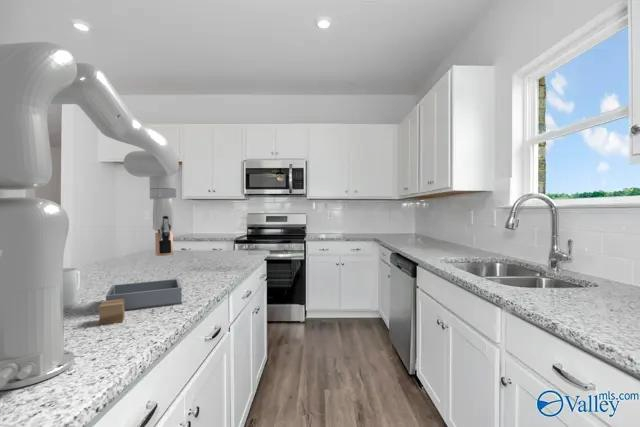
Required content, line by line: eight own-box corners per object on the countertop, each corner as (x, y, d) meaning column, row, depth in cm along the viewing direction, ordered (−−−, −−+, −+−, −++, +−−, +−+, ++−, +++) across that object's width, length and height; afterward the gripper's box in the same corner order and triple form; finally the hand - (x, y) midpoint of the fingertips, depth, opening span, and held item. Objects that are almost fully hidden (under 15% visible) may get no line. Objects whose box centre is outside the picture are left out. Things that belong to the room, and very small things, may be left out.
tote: (178, 292, 111) (178, 278, 111) (181, 303, 98) (181, 287, 98) (112, 300, 101) (112, 285, 101) (106, 313, 89) (105, 296, 88)
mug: (62, 312, 90) (61, 273, 90) (31, 312, 90) (30, 273, 90) (92, 299, 102) (91, 265, 102) (64, 300, 102) (64, 266, 102)
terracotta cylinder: (156, 256, 96) (156, 233, 96) (154, 254, 100) (154, 232, 100) (174, 254, 99) (173, 232, 98) (171, 252, 103) (171, 231, 103)
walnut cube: (122, 322, 82) (122, 303, 82) (99, 326, 79) (99, 306, 79) (124, 317, 86) (124, 298, 86) (102, 320, 84) (102, 301, 84)
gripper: (147, 195, 104) (148, 249, 105) (152, 193, 90) (153, 256, 90) (172, 195, 108) (173, 248, 109) (180, 194, 94) (181, 254, 94)
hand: (164, 251), depth 99 cm, fingers closed on terracotta cylinder, 5 cm apart
